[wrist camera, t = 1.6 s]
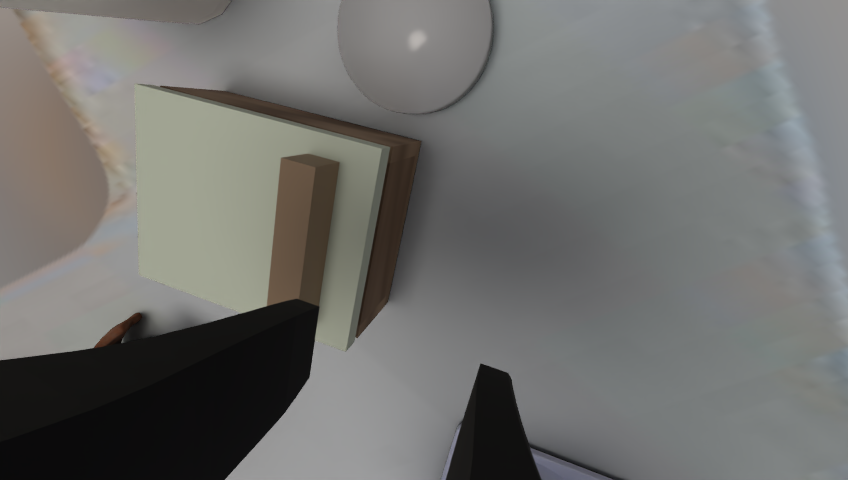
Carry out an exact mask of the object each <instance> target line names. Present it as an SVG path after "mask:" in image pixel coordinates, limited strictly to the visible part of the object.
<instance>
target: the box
mask: <svg viewBox="0 0 848 480" xmlns="http://www.w3.org/2000/svg"><path fill="white" fill-rule="evenodd" d="M160 87H162V88H166V89H170V90H174V91H178V92H181V93H185V94H189V95H193V96H197V97H201V98H204V99H208V100H212V101H216V102H220V103H223V104H227V105H231V106H235V107H239V108H243V109H246V110H250V111H254V112H258V113H262V114H266V115H269V116H273V117H277V118H281V119H285V120H289V121H292V122H296V123H300V124H304V125H308V126H312V127H315V128H319V129H323V130H327V131H331V132H334V133H338V134H342V135H346V136H350V137H354V138H357V139H361V140H365V141H369V142H373V143H377V144H380V145H384V146H388V147H390V151H389V157H388V162H387V168H386V173H385V179H384V184H383V189H382V195H381V200H380V206H379V211H378V217H377V222H376V227H375V233H374V238H373V244H372V249H371V255H370V260H369V265H368V271H367V276H366V282H365V287H364V293H363V298H362V303H361V309H360V314H359V320H358V325H357V331H356V336H355V337H356V338H358V337H359V336H360V334H361V333H362V332H363V331H364V330H365V329H366V327H367V326H368V325H369V324H370V323H371V321H372V320H373V319H374V318H375V317H376V316H377V314H378V313H379V312H380V311H381V310H382V308H383V307H384V306H385V305H386V304H387V303H388V299H389V294H390V289H391V285H392V280H393V275H394V270H395V265H396V261H397V256H398V251H399V246H400V242H401V237H402V232H403V227H404V222H405V218H406V213H407V208H408V203H409V198H410V194H411V189H412V184H413V179H414V174H415V170H416V165H417V160H418V155H419V150H420V146H421V141H419V140H415V139H411V138H407V137H403V136H399V135H396V134H392V133H388V132H384V131H380V130H376V129H372V128H368V127H364V126H360V125H356V124H352V123H348V122H344V121H340V120H337V119H333V118H329V117H325V116H321V115H317V114H313V113H309V112H305V111H301V110H297V109H293V108H289V107H285V106H281V105H278V104H274V103H270V102H266V101H262V100H258V99H254V98H250V97H246V96H242V95H238V94H234V93H230V92H226V91H218V90H206V89H194V88H181V87H169V86H160Z"/></svg>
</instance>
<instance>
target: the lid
mask: <svg viewBox="0 0 848 480" xmlns="http://www.w3.org/2000/svg"><path fill="white" fill-rule="evenodd" d="M134 85H135V128H136V171H137V213H138V256H139V275H140V276H143V277H146V278H148V279H151V280H154V281H156V282H159V283H162V284H164V285H167V286H170V287H173V288H175V289H178V290H181V291H183V292H186V293H189V294H191V295H194V296H197V297H199V298H202V299H205V300H208V301H210V302H213V303H216V304H218V305H221V306H224V307H226V308H229V309H232V310H235V311H237V312H240V313H245V312H248V311H252V310H255V309H259V308H262V307H266V306H269V305H273V304H276V303H280V302H284V301H288V300H293V299H300V300H302V301H305V302H308V303H311V304H314V305H317V306H319V307H320V308H319V315H318V322H317V328H316V335H315V341H318V342H321V343H323V344H326V345H329V346H331V347H334V348H337V349H340V350H342V351H345V352H346V351H347V350H348V349H349V347H350V346H351V345H352V344H353V343H354V341H355V336H356V331H357V325H358V320H359V314H360V309H361V303H362V298H363V293H364V287H365V282H366V276H367V271H368V265H369V260H370V255H371V249H372V244H373V238H374V233H375V227H376V222H377V217H378V211H379V206H380V200H381V195H382V189H383V184H384V179H385V173H386V168H387V162H388V157H389V151H390V147H388V146H384V145H380V144H377V143H373V142H369V141H365V140H361V139H357V138H354V137H350V136H346V135H342V134H338V133H334V132H331V131H327V130H323V129H319V128H315V127H312V126H308V125H304V124H300V123H296V122H292V121H289V120H285V119H281V118H277V117H273V116H269V115H266V114H262V113H258V112H254V111H250V110H246V109H243V108H239V107H235V106H231V105H227V104H223V103H220V102H216V101H212V100H208V99H204V98H201V97H197V96H193V95H189V94H185V93H181V92H178V91H174V90H170V89H166V88H162V87H158V86H155V85H145V84H134Z"/></svg>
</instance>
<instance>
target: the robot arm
mask: <svg viewBox="0 0 848 480" xmlns="http://www.w3.org/2000/svg"><path fill="white" fill-rule="evenodd" d="M319 308H320V307H319V306H317V305H314V304H311V303H308V302H305V301H302V300H300V299H293V300H288V301H284V302H280V303H276V304H273V305H269V306H266V307H262V308H259V309H255V310H252V311H248V312H245V313H241V314H238V315H234V316H231V317H227V318H224V319H220V320H217V321H214V322H210V323H206V324H202V325H198V326H194V327H190V328H186V329H182V330H178V331H174V332H170V333H166V334H162V335H158V336H154V337H149V338H145V339H140V340H135V341H130V342H125V343H120V344H114V345H109V346H103V347H97V348H92V349H86V350H79V351H72V352H64V353H56V354H48V355H40V356H32V357H25V358H17V359H9V360H0V480H225V479H226V478H227V476H228V475H229V474H230V473H231V472H232V471H233V470H234V469H235V468H236V467H237V465H238V464H239V463H240V462H241V461H242V460H243V459H244V458H245V457H246V455H247V454H248V453H249V452H250V451H251V450H252V449H253V448H254V447H255V446H256V444H257V443H258V442H259V441H260V440H261V439H262V438H263V437H264V436H265V434H266V433H267V432H268V431H269V430H270V429H271V428H272V427H273V426H274V424H275V423H276V422H277V421H278V420H279V419H280V418H281V416H282V415H283V414H284V413H285V412H286V410H287V409H288V407H289V406H290V405H291V403H292V402H293V400H294V399H295V398H296V396H297V395H298V393H299V392H300V390H301V389H302V387H303V386H304V384H305V383H306V382H307V380H308V379H309V377H310V370H311V363H312V356H313V349H314V342H315V335H316V328H317V322H318V315H319ZM441 480H613V479H611V478H608V477H605V476H603V475H600V474H598V473H595V472H592V471H590V470H587V469H585V468H582V467H579V466H577V465H574V464H572V463H569V462H566V461H564V460H561V459H559V458H556V457H553V456H551V455H548V454H545V453H543V452H540V451H538V450H535V449H532V448H530V446H529V443H528V440H527V437H526V434H525V431H524V428H523V425H522V422H521V418H520V415H519V411H518V407H517V403H516V399H515V395H514V391H513V386H512V379H511V378H510V376H509V374H508V373H506V372H504V371H501V370H498V369H495V368H492V367H489V366H487V365H484V364H480V367H479V370H478V373H477V377H476V380H475V383H474V386H473V389H472V393H471V396H470V399H469V402H468V405H467V409H466V412H465V415H464V418H463V421H462V424H460V425H458V427H457V429H456V432H455V435H454V439H453V442H452V445H451V448H450V452H449V455H448V458H447V461H446V464H445V468H444V471H443V474H442V477H441Z"/></svg>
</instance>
